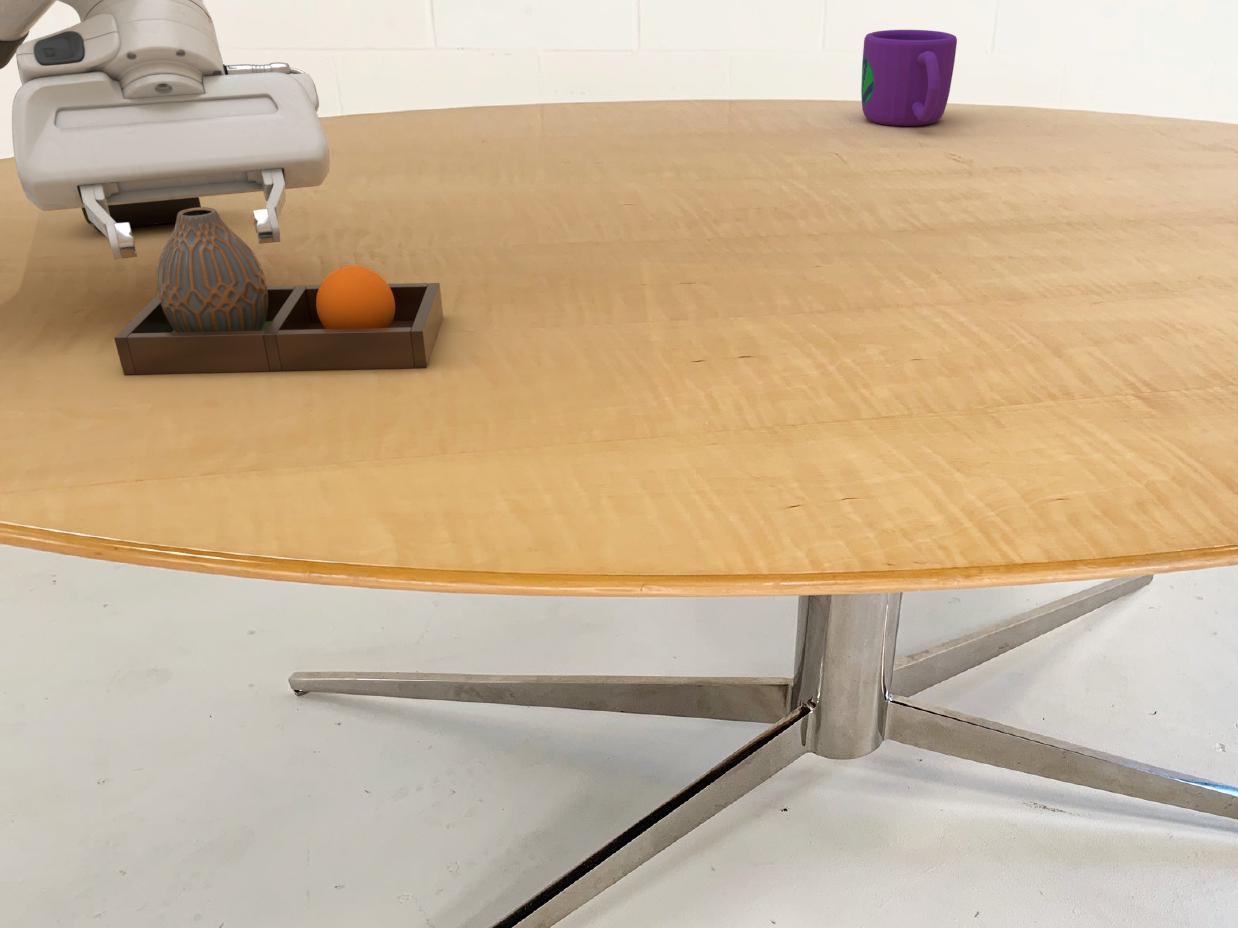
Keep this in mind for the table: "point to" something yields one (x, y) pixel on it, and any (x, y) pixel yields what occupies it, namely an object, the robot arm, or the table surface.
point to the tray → (287, 338)
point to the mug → (907, 76)
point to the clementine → (355, 300)
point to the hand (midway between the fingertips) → (198, 246)
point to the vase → (210, 277)
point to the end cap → (148, 211)
